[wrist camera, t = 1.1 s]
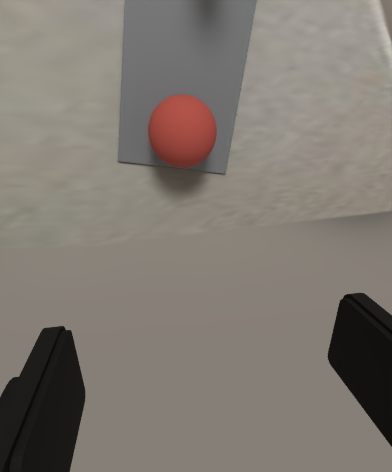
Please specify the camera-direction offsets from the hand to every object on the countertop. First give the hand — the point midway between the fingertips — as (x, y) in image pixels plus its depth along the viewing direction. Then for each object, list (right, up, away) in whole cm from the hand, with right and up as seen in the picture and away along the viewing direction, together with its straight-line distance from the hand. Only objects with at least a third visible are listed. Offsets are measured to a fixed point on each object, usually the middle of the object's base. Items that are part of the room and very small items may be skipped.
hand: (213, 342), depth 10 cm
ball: (-2, +13, +15) cm, 20 cm away
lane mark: (-1, +22, +15) cm, 26 cm away
